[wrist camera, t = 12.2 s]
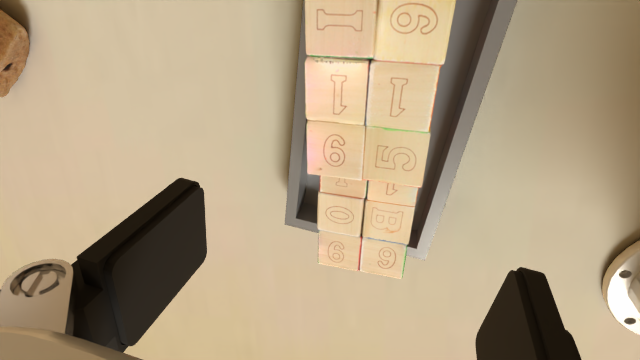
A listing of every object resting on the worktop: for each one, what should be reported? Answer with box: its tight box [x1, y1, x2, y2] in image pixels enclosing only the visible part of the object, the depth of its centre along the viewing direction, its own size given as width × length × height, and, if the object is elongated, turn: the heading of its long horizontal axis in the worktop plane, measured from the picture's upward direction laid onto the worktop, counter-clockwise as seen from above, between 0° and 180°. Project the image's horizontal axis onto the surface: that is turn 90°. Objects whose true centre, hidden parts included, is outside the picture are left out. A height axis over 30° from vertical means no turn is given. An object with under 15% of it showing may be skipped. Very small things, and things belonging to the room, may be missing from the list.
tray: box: [285, 0, 517, 260], centre depth 28 cm, size 13×28×4 cm, turn 173°
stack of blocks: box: [304, 0, 456, 279], centre depth 23 cm, size 21×6×12 cm, turn 179°
